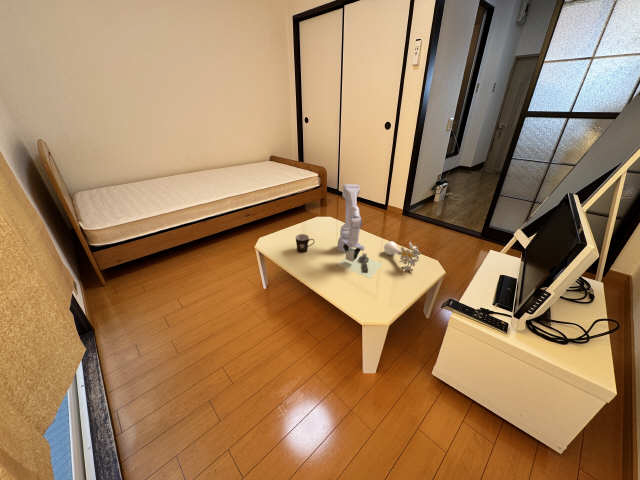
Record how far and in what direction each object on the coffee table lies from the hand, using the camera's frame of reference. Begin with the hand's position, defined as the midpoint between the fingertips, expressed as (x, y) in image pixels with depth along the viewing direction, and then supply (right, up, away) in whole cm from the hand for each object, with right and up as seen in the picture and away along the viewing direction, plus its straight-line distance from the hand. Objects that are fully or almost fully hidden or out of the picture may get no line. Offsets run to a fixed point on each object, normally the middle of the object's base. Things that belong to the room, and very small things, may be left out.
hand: (351, 256), depth 149 cm
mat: (+6, -5, +2) cm, 8 cm away
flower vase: (+31, -4, +7) cm, 32 cm away
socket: (0, -1, +1) cm, 1 cm away
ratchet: (+8, -5, +2) cm, 10 cm away
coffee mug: (-29, +3, +14) cm, 33 cm away
